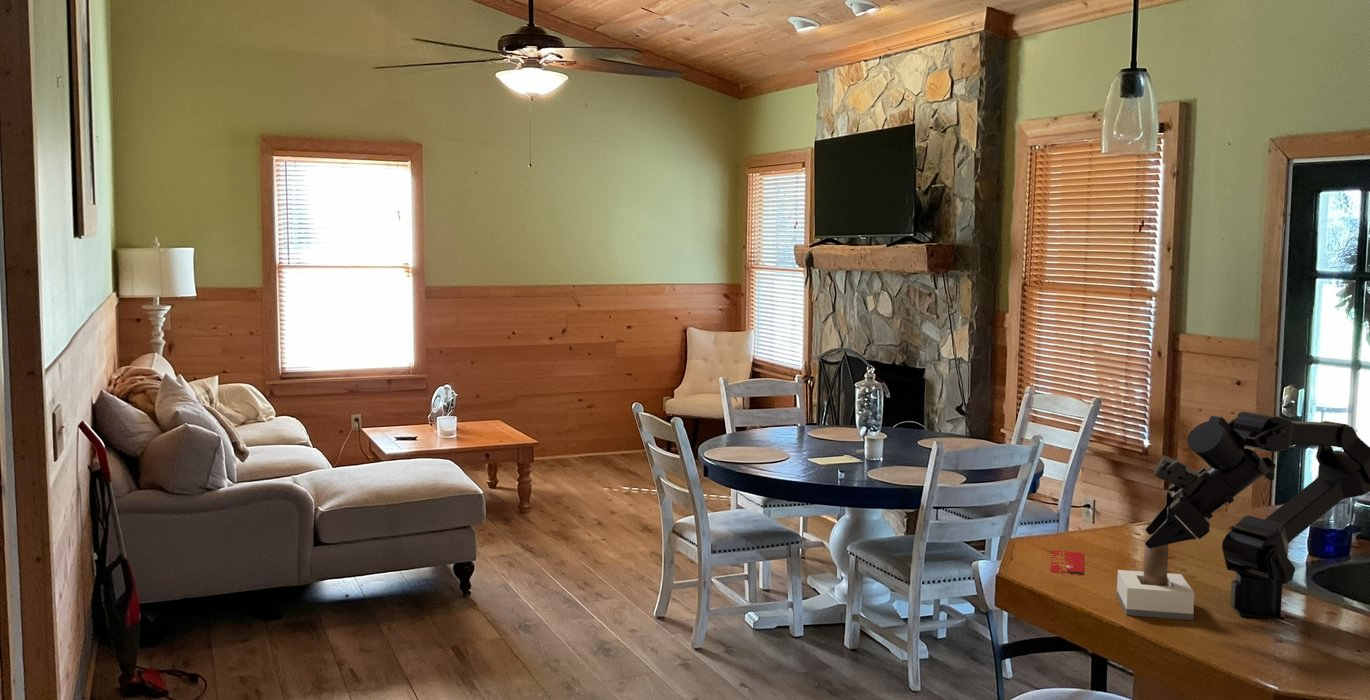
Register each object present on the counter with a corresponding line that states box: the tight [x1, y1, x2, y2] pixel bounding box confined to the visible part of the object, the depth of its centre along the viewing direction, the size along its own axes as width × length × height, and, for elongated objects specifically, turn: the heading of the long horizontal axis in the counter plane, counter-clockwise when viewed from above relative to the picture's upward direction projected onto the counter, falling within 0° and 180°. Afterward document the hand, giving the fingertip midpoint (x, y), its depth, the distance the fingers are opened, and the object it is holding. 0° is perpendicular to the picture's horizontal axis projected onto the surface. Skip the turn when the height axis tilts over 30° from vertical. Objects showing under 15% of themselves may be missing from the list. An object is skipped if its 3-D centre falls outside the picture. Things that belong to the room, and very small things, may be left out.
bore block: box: [1116, 569, 1195, 621], centre depth 177 cm, size 10×10×4 cm
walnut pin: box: [1143, 539, 1170, 586], centre depth 177 cm, size 4×4×10 cm
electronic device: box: [1050, 549, 1085, 576], centre depth 203 cm, size 6×1×15 cm
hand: (1147, 539), depth 177 cm, fingers open, 9 cm apart
